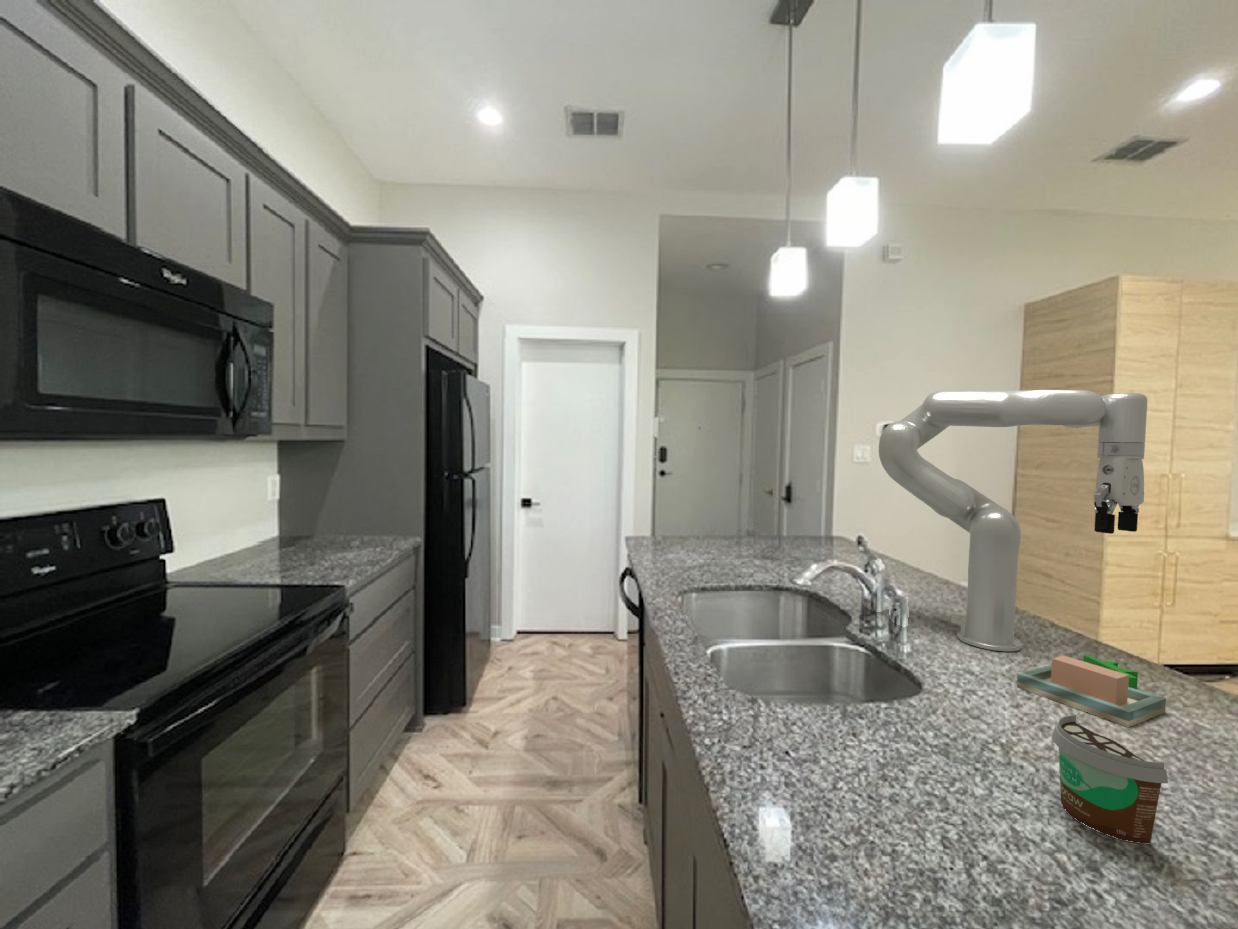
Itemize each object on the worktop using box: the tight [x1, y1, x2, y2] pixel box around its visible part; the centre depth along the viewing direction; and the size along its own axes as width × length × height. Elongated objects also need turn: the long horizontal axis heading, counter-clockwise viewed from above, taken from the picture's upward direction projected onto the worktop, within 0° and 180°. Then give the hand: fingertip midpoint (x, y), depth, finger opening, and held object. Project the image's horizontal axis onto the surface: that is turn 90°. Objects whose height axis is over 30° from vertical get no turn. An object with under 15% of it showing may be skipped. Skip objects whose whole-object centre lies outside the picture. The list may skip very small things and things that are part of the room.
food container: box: [1051, 714, 1169, 844], centre depth 69 cm, size 12×6×10 cm, turn 5°
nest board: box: [1016, 664, 1167, 728], centre depth 104 cm, size 17×13×2 cm
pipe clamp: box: [1082, 654, 1139, 690], centre depth 109 cm, size 11×4×5 cm, turn 177°
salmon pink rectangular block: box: [1051, 655, 1129, 706], centre depth 104 cm, size 4×10×5 cm, turn 26°
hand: (1115, 531), depth 122 cm, fingers open, 9 cm apart
